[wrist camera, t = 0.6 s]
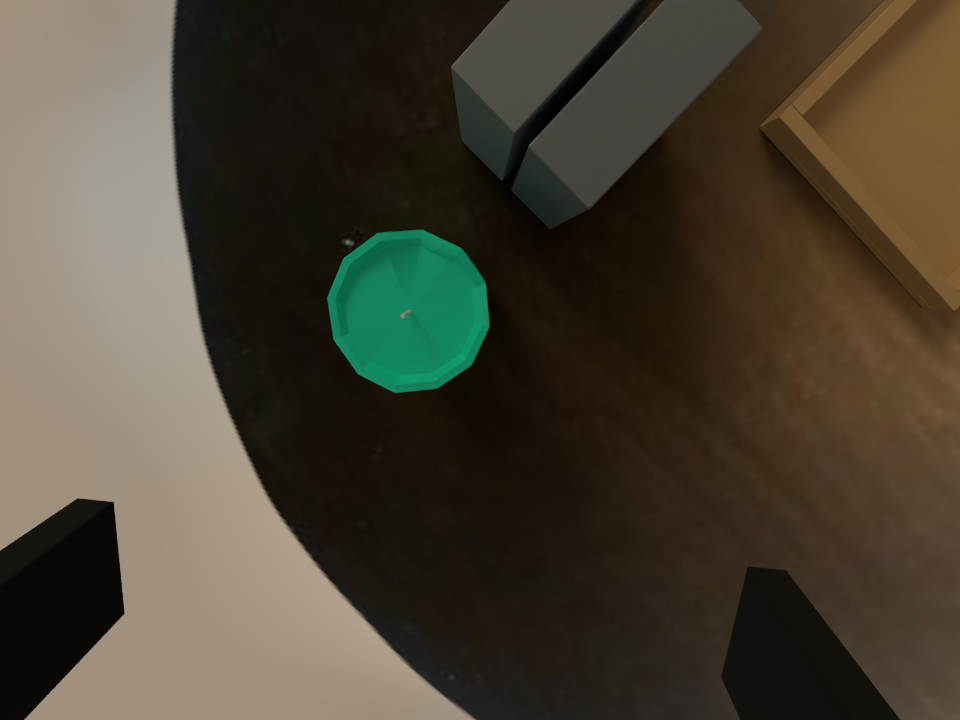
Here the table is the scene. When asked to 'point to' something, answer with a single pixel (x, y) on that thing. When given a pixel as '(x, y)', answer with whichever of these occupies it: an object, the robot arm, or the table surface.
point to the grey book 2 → (630, 104)
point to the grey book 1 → (533, 70)
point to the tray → (888, 141)
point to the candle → (408, 310)
